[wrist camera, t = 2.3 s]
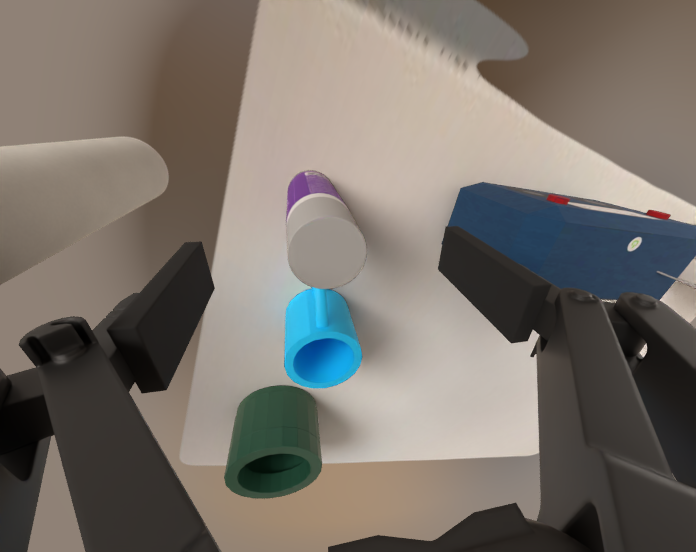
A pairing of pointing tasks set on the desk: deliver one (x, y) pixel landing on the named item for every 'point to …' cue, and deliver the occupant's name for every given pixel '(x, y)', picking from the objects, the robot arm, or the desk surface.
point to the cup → (689, 273)
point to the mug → (320, 339)
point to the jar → (274, 443)
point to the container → (321, 233)
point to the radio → (579, 239)
